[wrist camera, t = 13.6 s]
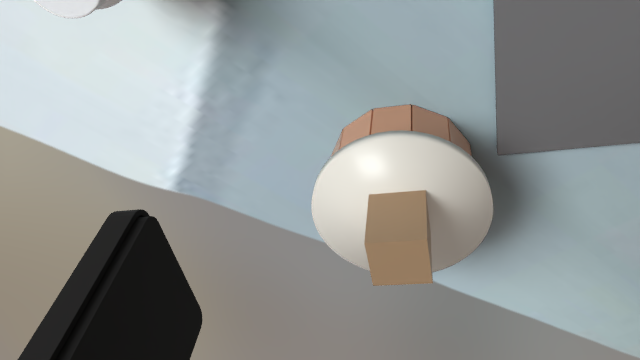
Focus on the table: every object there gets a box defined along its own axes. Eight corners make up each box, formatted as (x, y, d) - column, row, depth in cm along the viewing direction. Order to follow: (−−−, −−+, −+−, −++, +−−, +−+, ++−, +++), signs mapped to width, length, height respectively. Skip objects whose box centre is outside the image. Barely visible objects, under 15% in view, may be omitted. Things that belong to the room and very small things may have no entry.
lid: (489, 120, 37) (500, 176, 32) (493, 262, 45) (503, 324, 40) (296, 140, 40) (280, 194, 35) (331, 270, 47) (322, 329, 43)
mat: (768, -92, 32) (773, -90, 32) (715, 131, 41) (717, 135, 41) (492, -46, 35) (493, -44, 35) (497, 151, 44) (497, 155, 44)
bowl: (467, 98, 42) (473, 135, 38) (473, 212, 48) (479, 254, 44) (320, 114, 44) (312, 151, 40) (345, 220, 51) (340, 261, 47)
